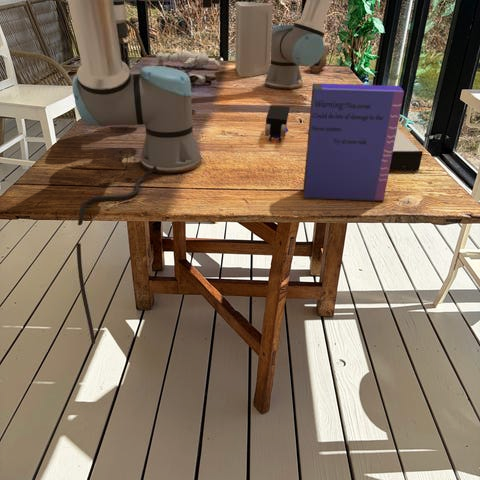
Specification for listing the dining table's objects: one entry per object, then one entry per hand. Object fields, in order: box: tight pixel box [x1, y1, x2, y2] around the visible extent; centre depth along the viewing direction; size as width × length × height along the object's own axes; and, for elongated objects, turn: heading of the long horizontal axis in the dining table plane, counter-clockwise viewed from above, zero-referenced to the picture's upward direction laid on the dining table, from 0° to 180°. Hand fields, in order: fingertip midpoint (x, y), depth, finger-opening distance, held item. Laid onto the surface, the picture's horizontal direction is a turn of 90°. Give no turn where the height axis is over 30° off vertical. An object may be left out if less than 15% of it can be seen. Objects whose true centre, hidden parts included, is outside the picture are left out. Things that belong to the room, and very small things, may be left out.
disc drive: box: [389, 127, 424, 172], centre depth 128 cm, size 18×22×5 cm
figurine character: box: [264, 105, 290, 143], centre depth 140 cm, size 7×8×15 cm
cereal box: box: [302, 83, 405, 202], centre depth 102 cm, size 17×5×24 cm, turn 86°
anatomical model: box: [308, 44, 329, 74], centre depth 220 cm, size 13×9×15 cm
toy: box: [155, 50, 221, 69], centre depth 223 cm, size 24×25×7 cm
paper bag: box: [234, 1, 274, 78], centre depth 210 cm, size 19×15×28 cm
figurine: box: [162, 63, 218, 85], centre depth 194 cm, size 24×8×30 cm
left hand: (122, 106), depth 143 cm, fingers closed on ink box, 5 cm apart
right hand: (211, 5), depth 159 cm, fingers open, 13 cm apart
